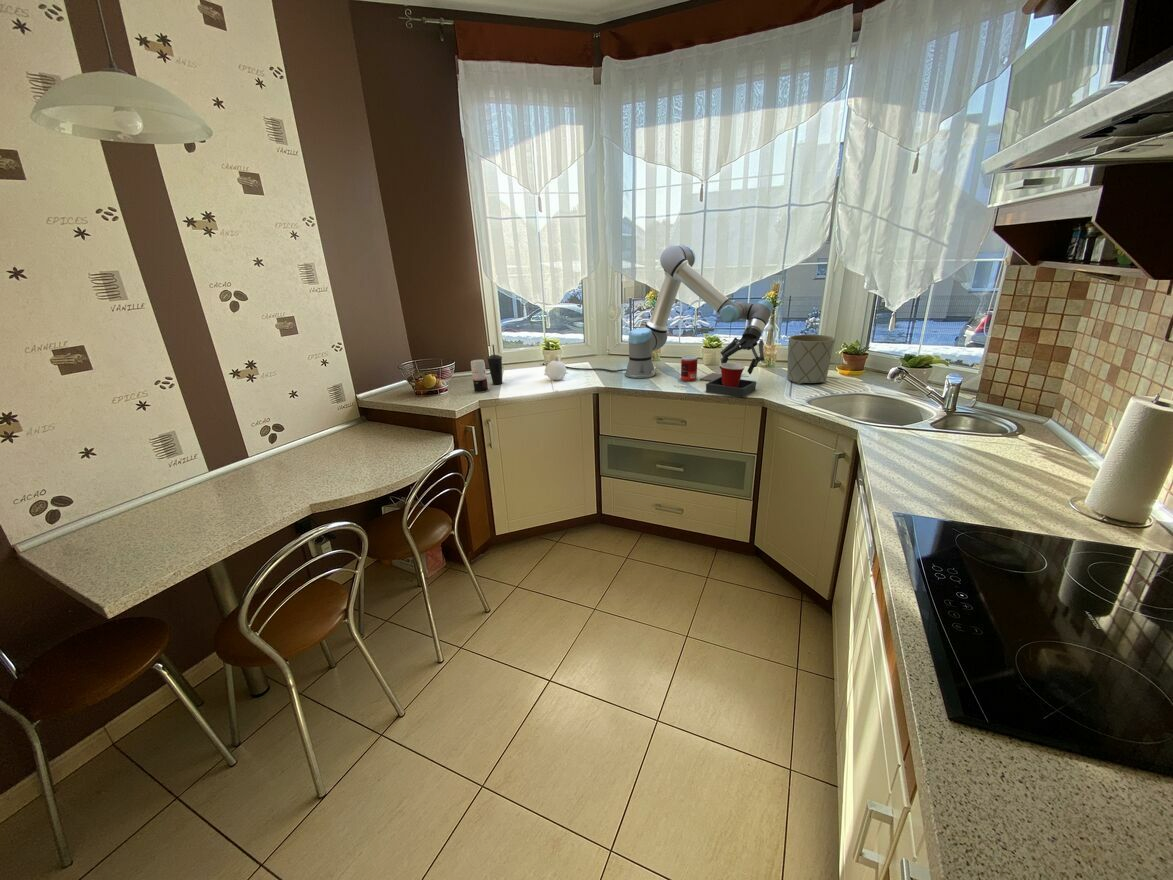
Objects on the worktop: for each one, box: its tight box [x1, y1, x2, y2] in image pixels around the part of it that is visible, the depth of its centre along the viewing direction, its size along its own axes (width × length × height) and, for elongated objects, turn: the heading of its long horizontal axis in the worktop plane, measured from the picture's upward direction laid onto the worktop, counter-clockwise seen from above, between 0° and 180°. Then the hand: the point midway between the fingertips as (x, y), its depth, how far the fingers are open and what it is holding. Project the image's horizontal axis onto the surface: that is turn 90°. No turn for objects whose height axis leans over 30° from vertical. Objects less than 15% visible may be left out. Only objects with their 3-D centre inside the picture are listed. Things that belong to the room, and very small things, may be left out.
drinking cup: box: [486, 344, 503, 386], centre depth 242 cm, size 8×8×20 cm
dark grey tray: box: [705, 377, 757, 399], centre depth 213 cm, size 17×14×4 cm
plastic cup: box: [719, 362, 746, 388], centre depth 211 cm, size 11×11×12 cm
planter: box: [786, 334, 836, 385], centre depth 220 cm, size 19×19×20 cm
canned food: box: [680, 355, 698, 382], centre depth 234 cm, size 8×8×11 cm
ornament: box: [545, 356, 567, 381], centre depth 245 cm, size 10×10×12 cm
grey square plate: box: [699, 372, 722, 382], centre depth 235 cm, size 14×14×1 cm
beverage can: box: [470, 359, 489, 394], centre depth 231 cm, size 6×7×15 cm
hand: (734, 370), depth 212 cm, fingers open, 13 cm apart
